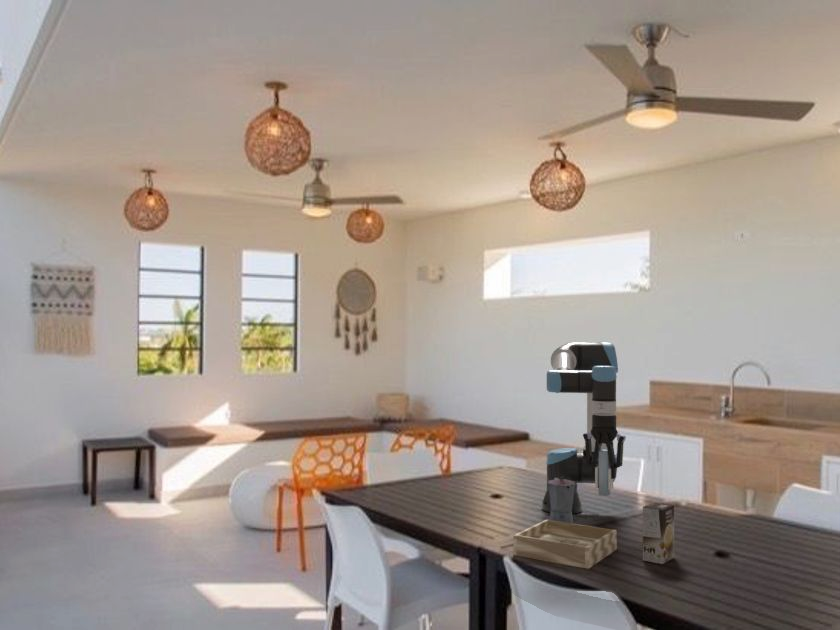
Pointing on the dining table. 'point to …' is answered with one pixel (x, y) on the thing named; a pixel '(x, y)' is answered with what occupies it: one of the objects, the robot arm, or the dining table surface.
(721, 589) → the dining table surface
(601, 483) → the peg
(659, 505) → the coffee box
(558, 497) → the moka pot
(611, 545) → the box
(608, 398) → the robot arm
